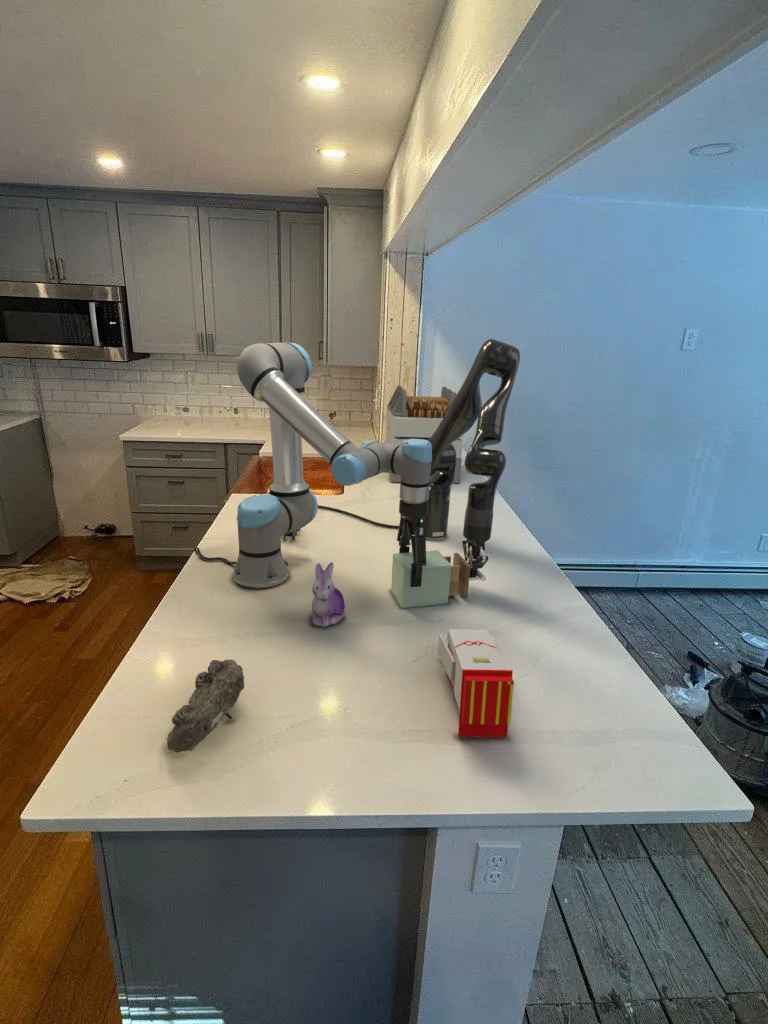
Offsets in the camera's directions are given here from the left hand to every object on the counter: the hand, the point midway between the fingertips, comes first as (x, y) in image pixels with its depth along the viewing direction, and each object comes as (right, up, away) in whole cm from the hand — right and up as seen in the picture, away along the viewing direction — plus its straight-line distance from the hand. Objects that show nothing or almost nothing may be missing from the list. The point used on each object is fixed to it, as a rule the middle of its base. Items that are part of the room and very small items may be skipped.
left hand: (409, 577), depth 154 cm
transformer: (+10, +36, +121) cm, 127 cm away
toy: (+11, -20, -35) cm, 42 cm away
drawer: (+12, -4, +5) cm, 14 cm away
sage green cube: (+3, -6, +3) cm, 7 cm away
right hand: (+18, -1, +6) cm, 19 cm away
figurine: (-21, -9, -10) cm, 25 cm away
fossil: (-40, -21, -46) cm, 64 cm away
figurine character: (-39, +10, +41) cm, 57 cm away
